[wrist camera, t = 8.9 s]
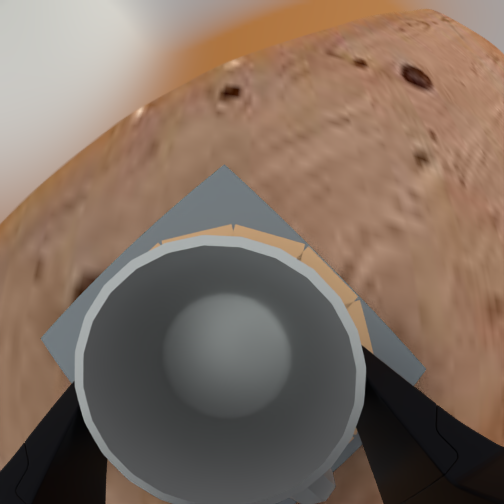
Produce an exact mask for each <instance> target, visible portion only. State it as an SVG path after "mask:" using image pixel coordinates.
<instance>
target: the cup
mask: <svg viewBox="0 0 504 504" xmlns="http://www.w3.org/2000/svg"><path fill="white" fill-rule="evenodd" d="M365 380H366V364H365V360H364V355H363V350H362V346H361V341H360V337H359V333H358V330H357V328H356V326H355V324H354V322H353V320H352V319H351V317H350V315H349V313H348V311H347V309H346V307H345V305H344V303H343V302H342V300H341V298H340V297H339V296H338V295H337V293H336V292H335V291H334V290H333V289H332V288H331V287H330V286H329V285H328V284H327V283H326V282H325V281H324V280H323V279H322V278H321V277H320V276H319V274H318V273H317V272H316V271H315V270H314V269H312V268H311V267H309V266H307V265H306V264H304V263H303V262H301V261H299V260H298V259H296V258H295V257H293V256H291V255H290V254H288V253H287V252H285V251H283V250H282V249H280V248H277V247H274V246H271V245H267V244H264V243H261V242H258V241H254V240H251V239H248V238H244V237H236V236H216V235H200V236H195V237H191V238H186V239H181V240H177V241H172V242H168V243H164V244H162V245H160V246H158V247H156V248H154V249H152V250H150V251H148V252H146V253H144V254H142V255H141V256H139V257H137V258H135V259H133V260H131V261H130V262H129V263H128V264H127V265H126V266H124V267H123V268H122V269H121V270H120V271H119V272H118V273H117V274H116V275H115V276H114V277H112V278H111V279H110V280H109V281H108V282H107V283H106V284H105V285H104V286H103V288H102V289H101V291H100V293H99V294H98V296H97V297H96V299H95V300H94V302H93V304H92V305H91V307H90V309H89V310H88V312H87V314H86V315H85V318H84V321H83V324H82V328H81V331H80V335H79V338H78V342H77V346H76V349H75V389H76V393H77V397H78V401H79V405H80V409H81V412H82V416H83V419H84V422H85V424H86V426H87V428H88V429H89V431H90V433H91V435H92V437H93V438H94V440H95V442H96V443H97V445H98V447H99V449H100V450H101V452H102V453H103V454H104V456H105V457H106V458H107V459H108V460H109V461H110V462H111V463H112V464H113V465H114V466H115V467H116V468H117V469H118V470H119V471H120V472H121V473H122V474H123V475H124V476H125V477H126V478H127V479H128V480H129V481H131V482H133V483H134V484H136V485H137V486H139V487H140V488H142V489H144V490H145V491H147V492H148V493H150V494H152V495H153V496H155V497H157V498H159V499H161V500H164V501H166V502H169V503H172V504H276V503H278V502H280V501H283V500H285V499H287V498H291V499H293V500H295V501H297V502H298V503H300V504H315V503H320V502H324V501H326V500H327V498H328V497H329V496H330V494H331V493H332V491H333V490H334V488H335V487H336V485H335V481H334V476H333V472H332V470H331V467H332V466H333V464H334V463H335V462H336V460H337V459H338V457H339V456H340V455H341V453H342V452H343V450H344V449H345V447H346V446H347V445H348V443H349V442H350V440H351V439H352V436H353V434H354V431H355V428H356V425H357V423H358V420H359V417H360V414H361V411H362V408H363V405H364V396H365Z"/></svg>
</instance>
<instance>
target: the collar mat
mask: <svg viewBox="0 0 504 504" xmlns="http://www.w3.org/2000/svg"><path fill="white" fill-rule="evenodd" d="M200 235H216V236H236V237H244V238H248V239H251V240H254V241H258V242H261V243H264V244H267V245H271V246H274V247H277V248H280V249H282V250H283V251H285V252H287V253H288V254H290V255H291V256H293V257H295V258H296V259H298V260H299V261H301V262H303V263H304V264H306V265H307V266H309V267H311V268H312V269H314V270H315V271H316V272H317V273H318V274H319V276H320V277H321V278H322V279H323V280H324V281H325V282H326V283H327V284H328V285H329V286H330V287H331V288H332V289H333V290H334V291H335V292H336V293H337V295H338V296H339V297H340V298H341V300H342V302H343V303H344V305H345V307H346V309H347V311H348V313H349V315H350V317H351V319H352V320H353V322H354V324H355V326H356V328H357V330H358V333H359V337H360V341H361V345H363V346H364V347H365V348H366V349H368V350H369V351H370V352H371V353H373V354H374V355H375V356H376V357H378V358H379V359H380V360H381V361H383V362H384V363H385V364H386V365H388V366H389V367H390V368H392V369H393V370H394V371H395V372H397V373H398V374H399V375H400V376H402V377H403V378H404V379H405V380H407V381H408V382H409V383H410V384H412V385H413V386H414V385H415V384H416V382H417V381H418V380H419V378H420V377H421V376H422V374H423V373H424V372H425V370H426V368H425V367H424V366H423V365H422V364H421V363H420V362H419V360H418V359H417V358H416V357H415V356H414V355H413V354H412V353H411V351H410V350H409V349H408V348H407V347H406V346H405V345H404V344H403V343H402V342H401V340H400V339H399V338H398V337H397V336H396V335H395V334H394V333H393V332H392V331H391V330H390V328H389V327H388V326H387V325H386V324H385V323H384V322H383V321H382V320H381V319H380V318H379V317H378V316H377V314H376V313H375V312H374V311H373V310H372V309H371V308H370V307H369V306H368V305H367V304H366V303H365V302H364V301H363V300H362V299H361V298H360V297H359V295H358V294H357V293H356V292H355V291H354V290H353V289H352V288H351V287H350V286H349V285H348V284H347V283H346V282H345V281H344V280H343V279H342V278H341V277H340V276H339V275H338V274H337V273H336V272H335V271H334V270H333V269H332V268H331V267H330V266H329V265H328V264H327V263H326V262H325V261H324V260H323V259H322V258H321V257H320V256H319V255H318V254H317V253H316V252H315V251H314V250H313V249H312V248H311V247H310V246H309V245H308V244H307V243H306V242H305V241H304V240H303V239H302V238H301V237H300V236H299V235H298V234H297V233H296V232H295V231H294V230H293V229H292V228H291V227H290V226H289V225H288V224H287V223H286V222H285V221H284V220H283V219H282V218H281V217H280V216H279V215H278V214H277V213H276V212H275V211H274V210H273V209H271V208H270V207H269V206H268V205H267V204H266V203H265V202H264V201H263V200H262V199H261V198H260V197H259V196H258V195H257V194H256V193H255V192H254V191H253V190H251V189H250V188H249V187H248V186H247V185H246V184H245V183H244V182H243V181H242V180H241V179H240V178H239V177H238V176H236V175H235V174H234V173H233V172H232V171H231V170H230V169H229V168H228V167H227V166H226V165H223V166H222V167H221V168H219V169H218V170H217V171H216V172H214V173H213V174H212V175H211V176H210V177H208V178H207V179H206V180H205V181H203V182H202V183H201V184H200V185H199V186H197V187H196V188H195V189H194V190H193V191H191V192H190V193H189V194H188V195H187V196H186V197H184V198H183V199H182V200H181V201H180V202H179V203H177V204H176V205H175V206H174V207H173V208H172V209H170V210H169V211H168V212H167V213H166V214H165V215H164V216H162V217H161V218H160V219H159V220H158V221H157V222H156V223H155V224H154V225H152V226H151V227H150V228H149V229H148V230H147V231H146V232H145V233H144V234H143V235H141V236H140V237H139V238H138V239H137V240H136V241H135V242H134V243H133V244H132V245H131V246H130V247H129V248H128V249H126V250H125V251H124V252H123V253H122V254H121V255H120V256H119V257H118V258H117V259H116V260H115V261H114V262H113V263H112V264H111V265H110V266H109V267H108V268H107V269H106V270H105V271H104V272H103V273H102V274H101V275H100V276H99V277H98V278H97V279H96V280H95V281H94V282H93V283H92V284H91V285H90V286H89V287H88V288H87V289H86V290H85V291H84V292H83V293H82V294H81V295H80V296H79V297H78V298H77V299H76V300H75V301H74V302H73V303H72V304H71V306H70V307H69V308H68V309H67V310H66V311H65V312H64V313H63V314H62V315H61V316H60V317H59V318H58V320H57V321H56V322H55V323H54V324H53V325H52V326H51V327H50V328H49V330H48V331H47V332H46V333H45V334H44V335H43V336H42V337H41V340H42V341H43V343H44V344H45V346H46V347H47V349H48V350H49V352H50V353H51V355H52V356H53V358H54V359H55V361H56V362H57V364H58V365H59V367H60V368H61V369H62V371H63V372H64V374H65V375H66V376H67V378H68V379H69V380H70V382H71V383H73V381H74V380H75V349H76V346H77V342H78V338H79V335H80V331H81V328H82V324H83V321H84V318H85V315H86V314H87V312H88V310H89V309H90V307H91V305H92V304H93V302H94V300H95V299H96V297H97V296H98V294H99V293H100V291H101V289H102V288H103V286H104V285H105V284H106V283H107V282H108V281H109V280H110V279H111V278H112V277H114V276H115V275H116V274H117V273H118V272H119V271H120V270H121V269H122V268H123V267H124V266H126V265H127V264H128V263H129V262H130V261H131V260H133V259H135V258H137V257H139V256H141V255H142V254H144V253H146V252H148V251H150V250H152V249H154V248H156V247H158V246H160V245H162V244H164V243H168V242H172V241H177V240H181V239H186V238H191V237H195V236H200ZM361 445H362V442H361V439H360V437H359V434H358V431H357V429H356V428H355V431H354V434H353V436H352V439H351V440H350V442H349V443H348V445H347V446H346V447H345V449H344V450H343V452H342V453H341V455H340V456H339V457H338V459H337V460H336V462H335V463H334V464H333V466H332V467H331V470H332V472H334V471H335V470H336V469H337V468H338V467H339V466H340V465H341V464H342V463H344V462H345V461H346V460H347V459H348V458H349V457H350V456H351V455H352V454H353V453H354V452H355V451H356V450H357V449H358V448H359V447H360V446H361ZM296 502H297V501H295V500H293V499H291V498H287V499H285V500H283V501H280V502H278V503H276V504H295V503H296Z"/></svg>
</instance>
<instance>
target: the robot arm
mask: <svg viewBox="0 0 504 504" xmlns="http://www.w3.org/2000/svg"><path fill="white" fill-rule="evenodd" d="M361 346H362V350H363V355H364V360H365V364H366V380H365V396H364V405H363V408H362V411H361V414H360V417H359V420H358V423H357V425H356V429H357V431H358V434H359V437H360V439H361V442H362V445H363V447H364V450H365V453H366V455H367V458H368V461H369V464H370V466H371V469H372V472H373V475H374V478H375V480H376V483H377V486H378V489H379V492H380V495H381V497H382V500H383V503H384V504H504V447H502V446H500V445H498V444H496V443H494V442H492V441H491V440H489V439H487V438H486V437H484V436H482V435H481V434H479V433H477V432H476V431H474V430H472V429H471V428H469V427H468V426H466V425H465V424H463V423H461V422H460V421H458V420H457V419H456V418H454V417H453V416H452V415H450V414H449V413H448V412H446V411H445V410H444V409H442V408H441V407H440V406H438V405H436V403H435V402H433V401H432V400H431V399H430V398H428V397H427V396H426V395H424V394H423V393H422V392H421V391H419V390H418V389H417V388H416V387H414V386H413V385H412V384H410V383H409V382H408V381H407V380H405V379H404V378H403V377H402V376H400V375H399V374H398V373H397V372H395V371H394V370H393V369H392V368H390V367H389V366H388V365H386V364H385V363H384V362H383V361H381V360H380V359H379V358H378V357H376V356H375V355H374V354H373V353H371V352H370V351H369V350H368V349H366V348H365V347H364V346H363V345H361ZM106 472H107V458H106V457H105V456H104V454H103V453H102V452H101V450H100V449H99V447H98V445H97V443H96V442H95V440H94V438H93V437H92V435H91V433H90V431H89V429H88V428H87V426H86V424H85V422H84V419H83V416H82V412H81V409H80V405H79V401H78V397H77V393H76V389H75V380H74V381H73V383H72V384H71V385H70V386H69V387H68V389H67V390H66V391H65V392H64V393H63V395H62V396H61V397H60V398H59V400H58V401H57V402H56V403H55V404H54V406H53V407H52V408H51V409H50V411H49V412H48V413H47V414H46V416H45V417H44V418H43V419H42V421H41V422H40V423H39V424H38V426H37V427H36V428H35V429H34V431H33V432H32V433H31V434H30V436H29V437H28V438H27V440H26V441H25V443H23V445H22V446H21V447H20V449H19V450H18V451H17V452H16V454H15V455H14V456H13V457H12V459H11V460H10V461H9V462H8V463H7V464H6V465H5V467H4V468H3V469H2V470H1V471H0V504H105V501H106Z"/></svg>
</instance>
